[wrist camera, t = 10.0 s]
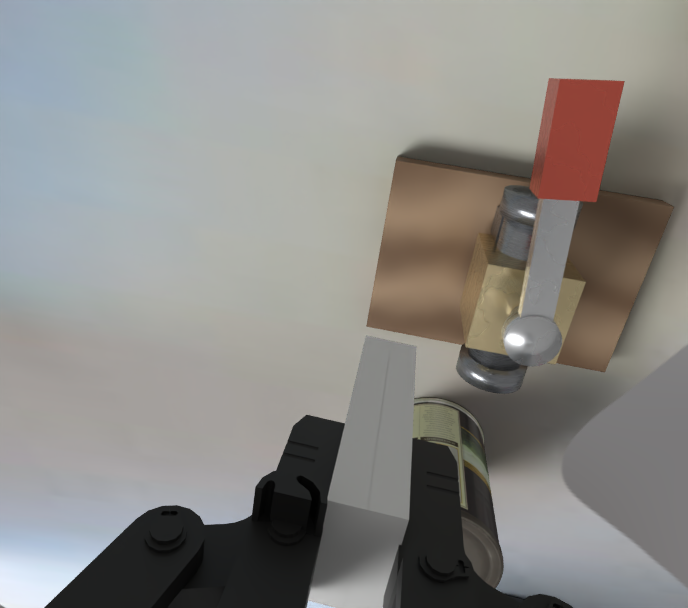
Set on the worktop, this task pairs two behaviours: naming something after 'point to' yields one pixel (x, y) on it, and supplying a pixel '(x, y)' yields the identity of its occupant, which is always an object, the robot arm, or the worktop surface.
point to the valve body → (505, 293)
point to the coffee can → (465, 479)
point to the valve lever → (559, 205)
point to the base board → (477, 217)
